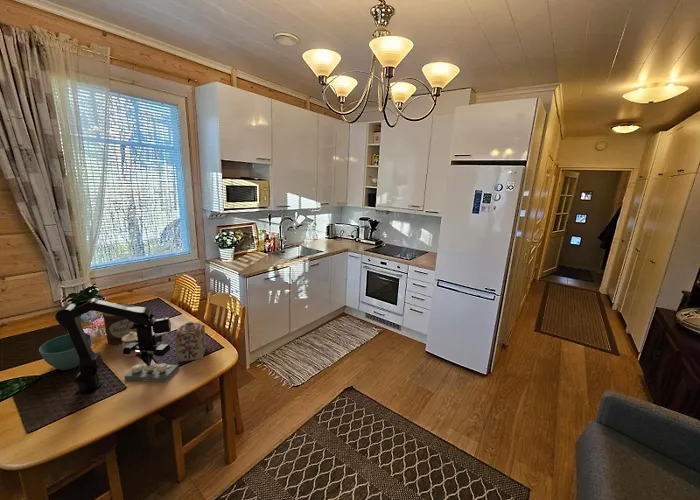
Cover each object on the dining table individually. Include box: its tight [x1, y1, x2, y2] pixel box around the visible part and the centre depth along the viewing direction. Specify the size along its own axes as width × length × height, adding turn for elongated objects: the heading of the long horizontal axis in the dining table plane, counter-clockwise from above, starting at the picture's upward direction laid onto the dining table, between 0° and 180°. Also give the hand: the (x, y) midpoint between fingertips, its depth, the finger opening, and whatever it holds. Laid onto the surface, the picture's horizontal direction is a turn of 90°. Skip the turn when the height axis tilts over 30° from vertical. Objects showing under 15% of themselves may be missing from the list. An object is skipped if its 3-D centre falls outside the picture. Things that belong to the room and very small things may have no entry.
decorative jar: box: [175, 321, 207, 363], centre depth 156 cm, size 12×12×18 cm
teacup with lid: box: [121, 332, 138, 357], centre depth 157 cm, size 12×9×12 cm
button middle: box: [144, 362, 155, 373], centre depth 139 cm, size 4×4×4 cm
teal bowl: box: [38, 332, 92, 371], centre depth 144 cm, size 18×18×12 cm
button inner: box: [131, 363, 142, 373], centre depth 140 cm, size 4×4×4 cm
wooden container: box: [102, 302, 136, 347], centre depth 167 cm, size 15×15×22 cm
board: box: [124, 362, 179, 383], centre depth 142 cm, size 10×19×2 cm, turn 88°
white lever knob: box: [157, 362, 168, 374], centre depth 139 cm, size 4×4×4 cm
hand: (148, 365), depth 139 cm, fingers closed, pressing on button middle
